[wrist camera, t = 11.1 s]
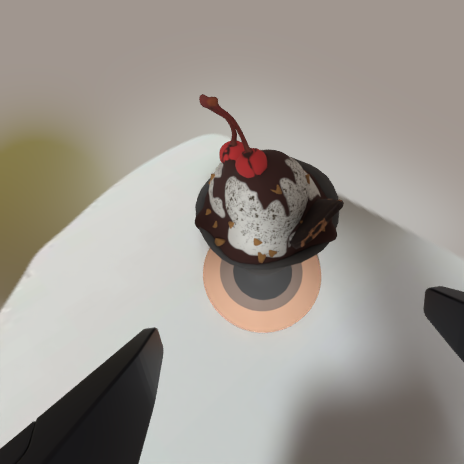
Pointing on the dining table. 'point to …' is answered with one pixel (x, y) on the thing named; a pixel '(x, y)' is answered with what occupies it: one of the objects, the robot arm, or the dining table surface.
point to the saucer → (261, 311)
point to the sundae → (264, 212)
